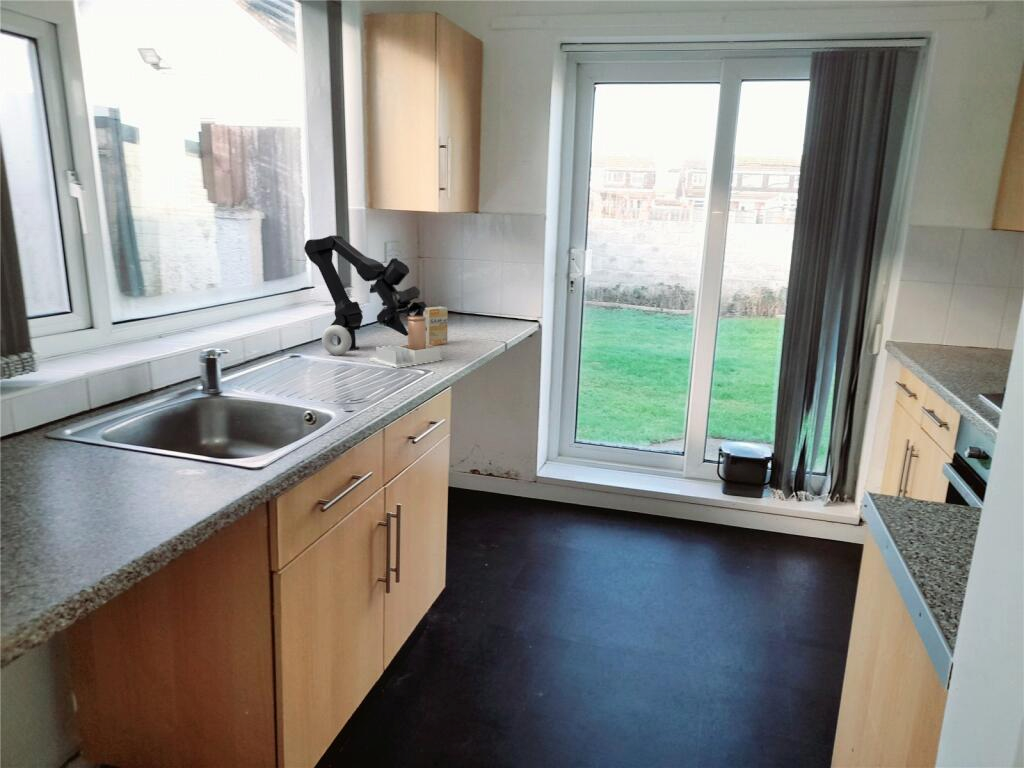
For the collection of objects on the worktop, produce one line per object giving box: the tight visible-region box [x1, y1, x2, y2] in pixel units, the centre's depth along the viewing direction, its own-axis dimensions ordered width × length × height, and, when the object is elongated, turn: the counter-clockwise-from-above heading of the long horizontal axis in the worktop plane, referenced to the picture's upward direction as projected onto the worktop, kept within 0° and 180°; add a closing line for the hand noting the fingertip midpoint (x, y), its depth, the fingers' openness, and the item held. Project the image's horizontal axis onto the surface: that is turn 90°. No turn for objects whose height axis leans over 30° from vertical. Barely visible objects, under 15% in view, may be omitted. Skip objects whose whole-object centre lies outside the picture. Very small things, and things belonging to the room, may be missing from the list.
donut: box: [321, 325, 352, 356], centre depth 232 cm, size 10×4×10 cm, turn 80°
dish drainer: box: [369, 343, 443, 367], centre depth 226 cm, size 14×18×5 cm
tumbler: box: [407, 315, 426, 351], centre depth 226 cm, size 6×6×13 cm
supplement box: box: [423, 306, 449, 346], centre depth 252 cm, size 8×5×13 cm, turn 131°
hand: (416, 333), depth 226 cm, fingers open, 9 cm apart
